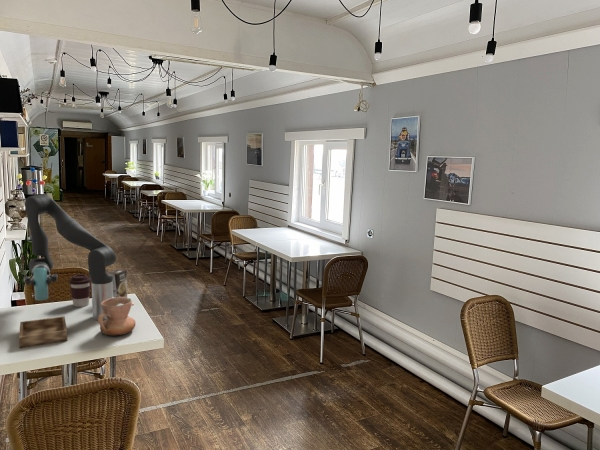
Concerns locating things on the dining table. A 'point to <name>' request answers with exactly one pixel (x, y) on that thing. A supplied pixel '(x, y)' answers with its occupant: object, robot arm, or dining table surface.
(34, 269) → the teal canister
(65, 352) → the dining table surface
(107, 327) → the ceramic jug
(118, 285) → the coffee box
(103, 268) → the robot arm
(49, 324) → the walnut crate
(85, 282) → the coffee cup
